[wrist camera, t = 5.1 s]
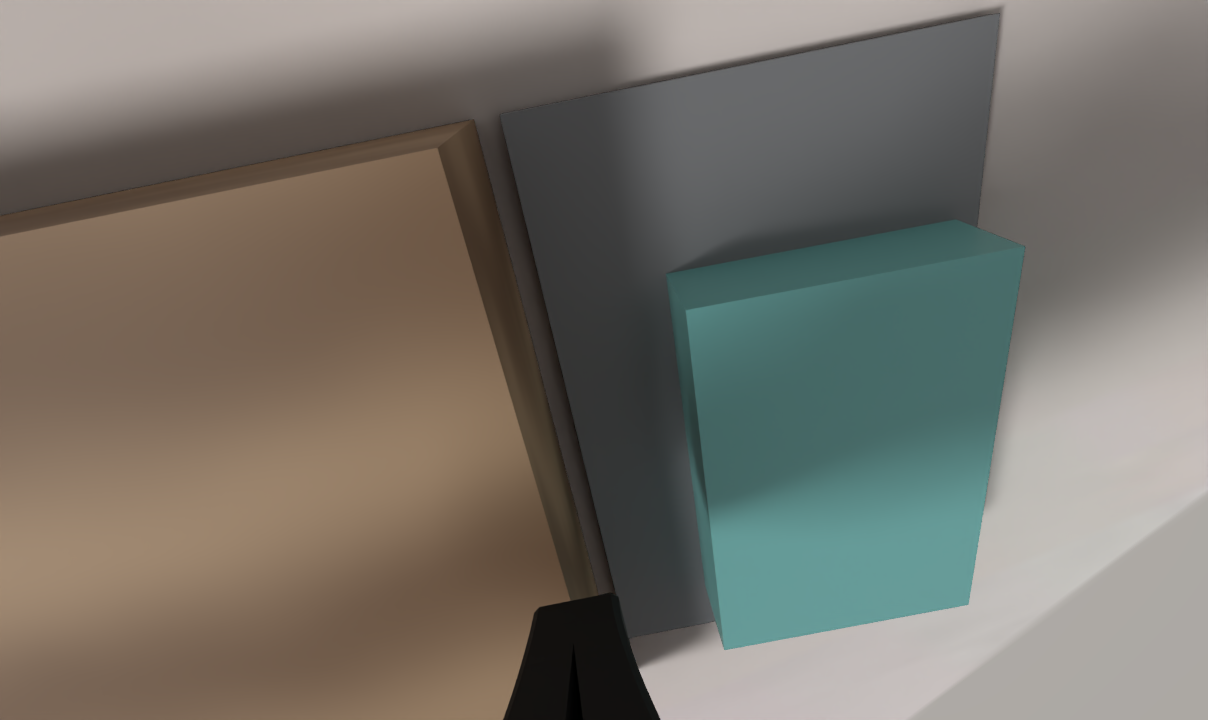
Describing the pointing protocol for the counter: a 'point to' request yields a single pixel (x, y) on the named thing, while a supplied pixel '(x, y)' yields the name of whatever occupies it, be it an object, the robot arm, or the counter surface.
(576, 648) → the robot arm
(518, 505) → the board
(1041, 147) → the counter surface
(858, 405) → the teal rectangular block
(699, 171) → the mat
